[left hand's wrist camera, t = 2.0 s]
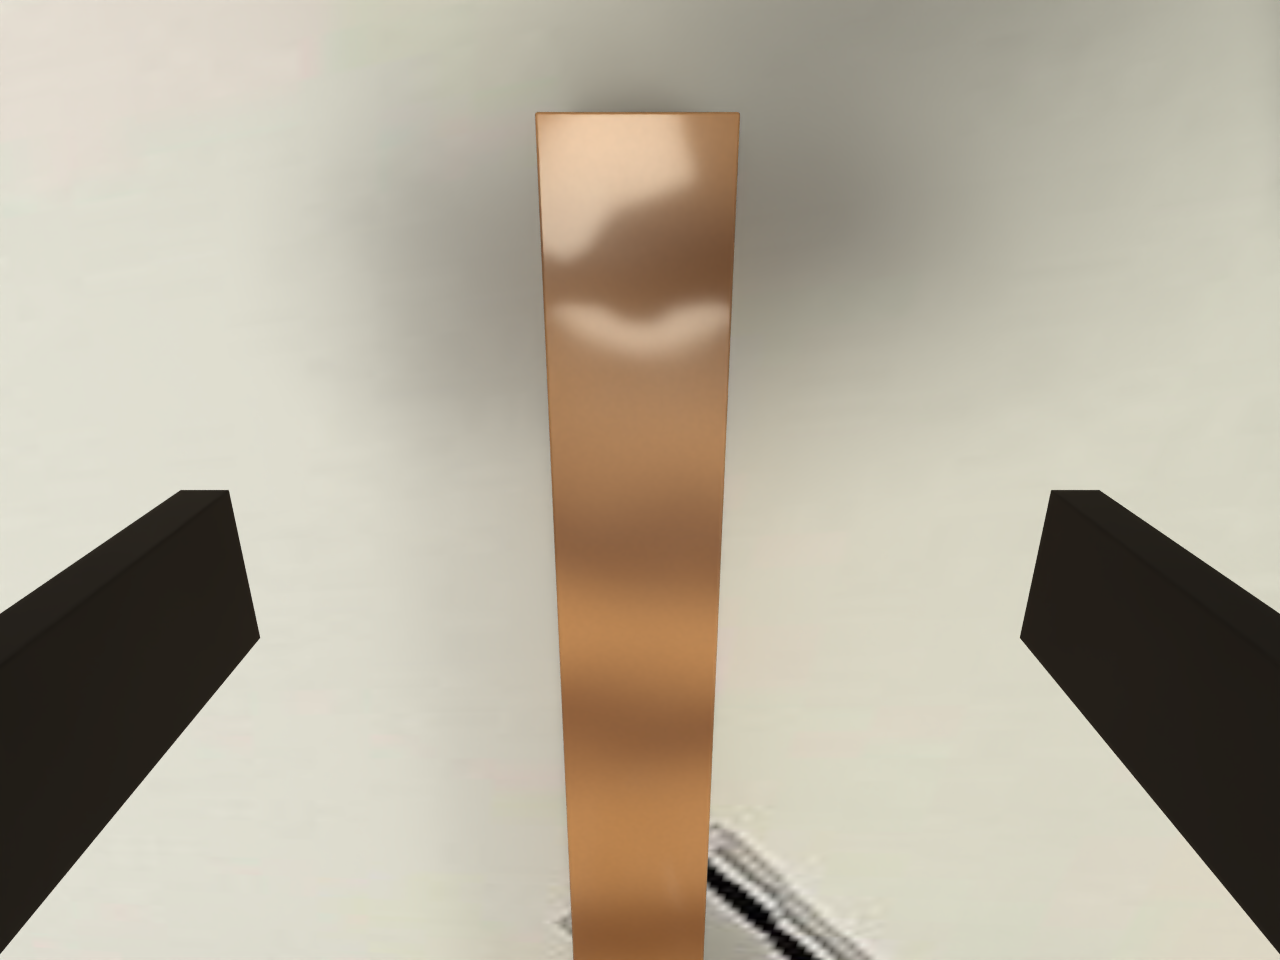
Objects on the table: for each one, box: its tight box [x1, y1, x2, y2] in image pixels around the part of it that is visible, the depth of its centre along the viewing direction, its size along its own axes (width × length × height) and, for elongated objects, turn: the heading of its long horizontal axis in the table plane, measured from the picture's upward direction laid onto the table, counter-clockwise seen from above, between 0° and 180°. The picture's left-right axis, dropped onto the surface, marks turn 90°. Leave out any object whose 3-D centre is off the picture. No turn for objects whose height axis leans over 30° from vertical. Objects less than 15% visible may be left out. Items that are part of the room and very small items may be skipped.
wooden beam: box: [535, 112, 740, 960], centre depth 37 cm, size 64×6×8 cm, turn 0°
